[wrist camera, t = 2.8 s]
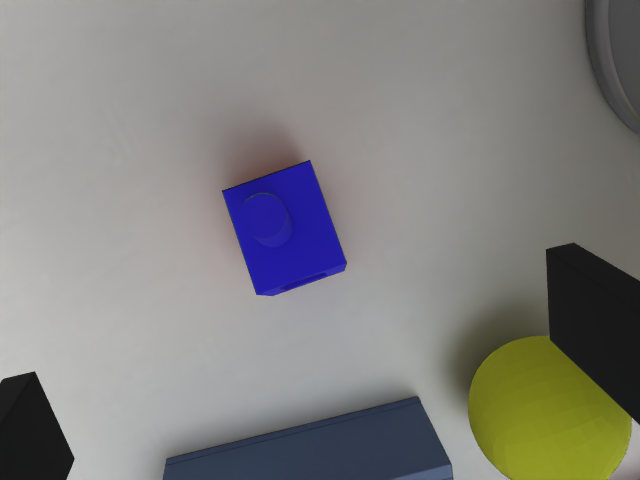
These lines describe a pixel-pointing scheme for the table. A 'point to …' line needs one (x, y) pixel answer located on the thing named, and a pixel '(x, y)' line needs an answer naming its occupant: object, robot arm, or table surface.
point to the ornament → (545, 415)
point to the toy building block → (284, 230)
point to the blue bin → (329, 450)
